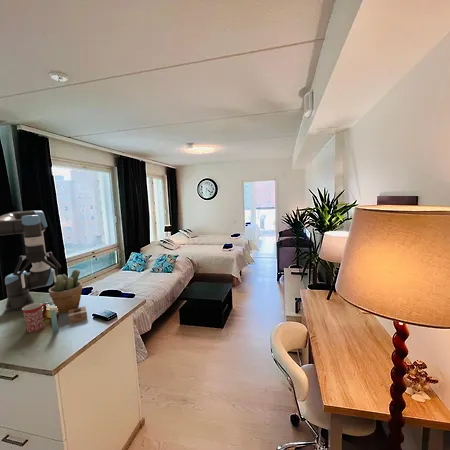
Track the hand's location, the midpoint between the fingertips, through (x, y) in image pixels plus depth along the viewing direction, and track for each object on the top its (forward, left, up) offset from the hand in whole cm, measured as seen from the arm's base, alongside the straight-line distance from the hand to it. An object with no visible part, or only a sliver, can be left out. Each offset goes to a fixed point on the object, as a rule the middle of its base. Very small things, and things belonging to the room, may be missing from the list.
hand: (40, 284), depth 135 cm
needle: (+2, +4, -27) cm, 28 cm away
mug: (-10, -5, -27) cm, 29 cm away
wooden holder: (-8, +15, -27) cm, 32 cm away
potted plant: (-27, +10, -27) cm, 39 cm away
